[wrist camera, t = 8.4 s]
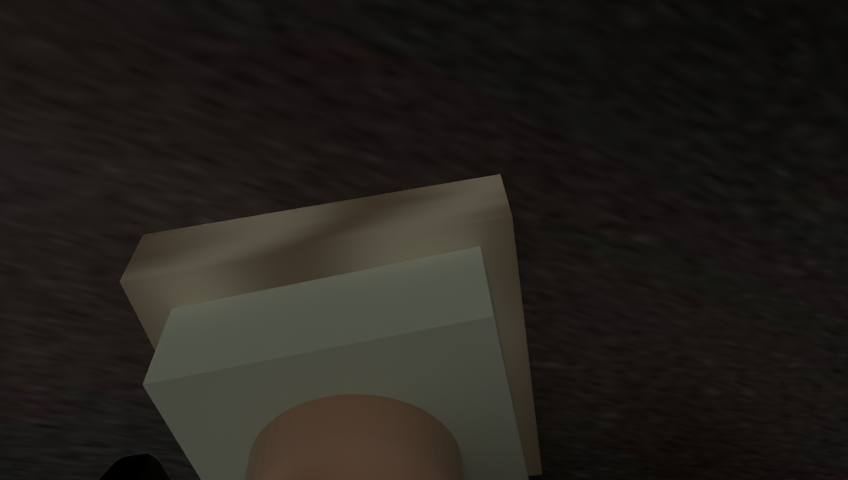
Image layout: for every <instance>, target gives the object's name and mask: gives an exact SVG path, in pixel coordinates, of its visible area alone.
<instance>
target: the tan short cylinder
mask: <svg viewBox="0 0 848 480" xmlns="http://www.w3.org/2000/svg"><path fill="white" fill-rule="evenodd" d="M244 480H464V476H463V467H462V458H461V453H460V449H459V446H458V444H457V442H456V440H455V438H454V437H453V435H452V434H451V432H450V431H449V430H448V429H447V428H446V427H445V426H444V425H443V424H442V423H441V422H440V421H439V420H438V419H436V418H435V417H434V416H432V415H431V414H429V413H427V412H426V411H424V410H422V409H420V408H418V407H416V406H414V405H411V404H409V403H406V402H403V401H400V400H396V399H393V398H388V397H383V396H376V395H366V394H346V395H335V396H329V397H323V398H318V399H315V400H311V401H308V402H305V403H302V404H300V405H297V406H295V407H292V408H291V409H289V410H287V411H285V412H283V413H282V414H280V415H279V416H277V417H276V418H274V419H273V420H272V421H270V422H269V423H268V424H267V425H266V426H265V427H264V428H263V429H262V431H261V432H260V433H259V435H258V436H257V437H256V439H255V441H254V443H253V445H252V447H251V450H250V454H249V458H248V463H247V468H246V473H245V479H244Z"/></svg>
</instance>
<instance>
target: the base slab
mask: <svg viewBox="0 0 848 480" xmlns="http://www.w3.org/2000/svg"><path fill="white" fill-rule="evenodd" d="M478 246H480V247H481V252H482V257H483V262H484V266H485V271H486V276H487V281H488V286H489V290H490V295H491V300H492V305H493V309H494V314H495V319H496V324H497V329H498V333H499V338H500V343H501V348H502V353H503V357H504V362H505V367H506V372H507V377H508V381H509V386H510V391H511V396H512V401H513V405H514V410H515V415H516V420H517V424H518V429H519V434H520V439H521V444H522V448H523V453H524V458H525V463H526V468H527V473H528V476H533V475H539V474H542V468H541V459H540V451H539V442H538V434H537V425H536V417H535V408H534V400H533V391H532V382H531V374H530V365H529V357H528V348H527V340H526V331H525V323H524V314H523V306H522V297H521V288H520V280H519V271H518V263H517V254H516V246H515V237H514V229H513V220H512V214H511V211H510V207H509V203H508V200H507V196H506V193H505V189H504V186H503V182H502V179H501V175H500V174H499V175H493V176H488V177H482V178H476V179H470V180H464V181H458V182H452V183H446V184H440V185H434V186H429V187H423V188H417V189H411V190H405V191H399V192H393V193H387V194H381V195H375V196H369V197H364V198H358V199H352V200H346V201H340V202H334V203H328V204H322V205H316V206H310V207H304V208H299V209H293V210H287V211H281V212H275V213H269V214H263V215H257V216H251V217H245V218H239V219H234V220H228V221H222V222H216V223H210V224H204V225H198V226H192V227H186V228H180V229H175V230H169V231H163V232H157V233H151V234H145V235H143V236H142V238H141V240H140V242H139V244H138V246H137V248H136V250H135V252H134V254H133V256H132V258H131V260H130V262H129V264H128V266H127V268H126V270H125V272H124V274H123V276H122V278H121V280H120V283H121V285H122V287H123V289H124V291H125V293H126V295H127V297H128V299H129V300H130V302H131V304H132V306H133V308H134V310H135V312H136V314H137V316H138V318H139V320H140V322H141V324H142V326H143V328H144V330H145V332H146V334H147V336H148V338H149V340H150V341H151V343H152V345H153V347H154V349H155V351H156V348H157V346H158V343H159V341H160V338H161V335H162V333H163V330H164V327H165V325H166V322H167V320H168V317H169V314H170V312H171V309H173V308H178V307H183V306H188V305H193V304H198V303H203V302H208V301H213V300H217V299H222V298H227V297H232V296H237V295H242V294H247V293H252V292H257V291H262V290H267V289H272V288H276V287H281V286H286V285H291V284H296V283H301V282H306V281H311V280H316V279H321V278H326V277H331V276H336V275H340V274H345V273H350V272H355V271H360V270H365V269H370V268H375V267H380V266H385V265H390V264H395V263H399V262H404V261H409V260H414V259H419V258H424V257H429V256H434V255H439V254H444V253H449V252H454V251H459V250H463V249H468V248H473V247H478Z"/></svg>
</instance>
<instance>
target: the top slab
mask: <svg viewBox="0 0 848 480" xmlns="http://www.w3.org/2000/svg"><path fill="white" fill-rule="evenodd" d="M143 386H144V388H145V389H146V391H147V393H148V394H149V396H150V397H151V399H152V401H153V402H154V404H155V406H156V407H157V409H158V410H159V412H160V414H161V415H162V417H163V419H164V420H165V422H166V423H167V425H168V427H169V428H170V430H171V432H172V433H173V435H174V436H175V438H176V440H177V441H178V443H179V445H180V446H181V448H182V449H183V451H184V453H185V454H186V456H187V458H188V459H189V461H190V462H191V464H192V466H193V467H194V469H195V471H196V472H197V474H198V475H199V477H200V479H201V480H244V479H245V473H246V468H247V463H248V458H249V454H250V450H251V447H252V445H253V443H254V441H255V439H256V437H257V436H258V435H259V433H260V432H261V431H262V429H263V428H264V427H265V426H266V425H267V424H268V423H269V422H270V421H272V420H273V419H274V418H276V417H277V416H279V415H280V414H282V413H283V412H285V411H287V410H289V409H291V408H292V407H295V406H297V405H300V404H302V403H305V402H308V401H311V400H315V399H318V398H323V397H329V396H335V395H346V394H366V395H376V396H383V397H388V398H393V399H396V400H400V401H403V402H406V403H409V404H411V405H414V406H416V407H418V408H420V409H422V410H424V411H426V412H427V413H429V414H431V415H432V416H434V417H435V418H436V419H438V420H439V421H440V422H441V423H442V424H443V425H444V426H445V427H446V428H447V429H448V430H449V431H450V432H451V434H452V435H453V437H454V438H455V440H456V442H457V444H458V446H459V449H460V453H461V458H462V467H463V476H464V480H529V478H528V473H527V468H526V463H525V458H524V453H523V448H522V444H521V439H520V434H519V429H518V424H517V420H516V415H515V410H514V405H513V401H512V396H511V391H510V386H509V381H508V377H507V372H506V367H505V362H504V357H503V353H502V348H501V343H500V338H499V333H498V329H497V324H496V319H495V314H494V309H493V305H492V300H491V295H490V290H489V286H488V281H487V276H486V271H485V266H484V262H483V257H482V252H481V247H480V246H478V247H473V248H468V249H463V250H459V251H454V252H449V253H444V254H439V255H434V256H429V257H424V258H419V259H414V260H409V261H404V262H399V263H395V264H390V265H385V266H380V267H375V268H370V269H365V270H360V271H355V272H350V273H345V274H340V275H336V276H331V277H326V278H321V279H316V280H311V281H306V282H301V283H296V284H291V285H286V286H281V287H276V288H272V289H267V290H262V291H257V292H252V293H247V294H242V295H237V296H232V297H227V298H222V299H217V300H213V301H208V302H203V303H198V304H193V305H188V306H183V307H178V308H173V309H171V312H170V314H169V317H168V320H167V322H166V325H165V327H164V330H163V333H162V335H161V338H160V341H159V343H158V346H157V348H156V351H155V354H154V356H153V359H152V361H151V364H150V367H149V369H148V372H147V374H146V377H145V380H144V382H143Z"/></svg>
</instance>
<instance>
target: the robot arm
mask: <svg viewBox="0 0 848 480" xmlns="http://www.w3.org/2000/svg"><path fill="white" fill-rule="evenodd" d="M99 480H172V479H171V478H170V476H169V474H168V473H167V471H166V469H165V468H164V466H163V465H162V463H161V461H160V460H159V458H158V457H157V456H155V455H154V454H151V453H146V454H140V455H134V456H128V457H123V458H121V459H119V460H118V461H116V462H115V463H114V464H113V465H112V466H111V467H110V469H109V470H108V471H107V472H106V473H105V474H104V475H103V476H102V477H101V478H100V479H99Z"/></svg>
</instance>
